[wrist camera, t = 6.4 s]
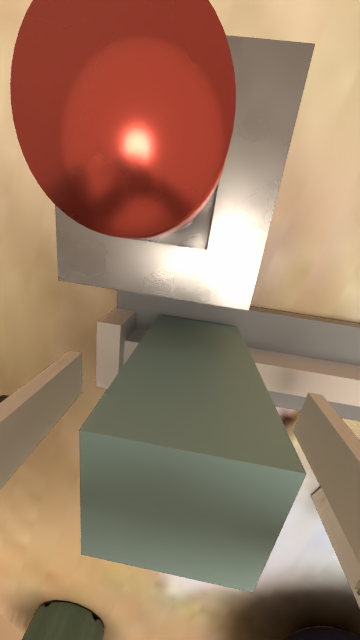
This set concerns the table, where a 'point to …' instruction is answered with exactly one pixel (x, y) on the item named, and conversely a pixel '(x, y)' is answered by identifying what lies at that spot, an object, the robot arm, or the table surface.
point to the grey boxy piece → (222, 208)
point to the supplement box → (339, 542)
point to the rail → (250, 347)
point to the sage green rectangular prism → (187, 459)
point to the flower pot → (64, 623)
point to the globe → (322, 634)
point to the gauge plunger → (124, 110)
